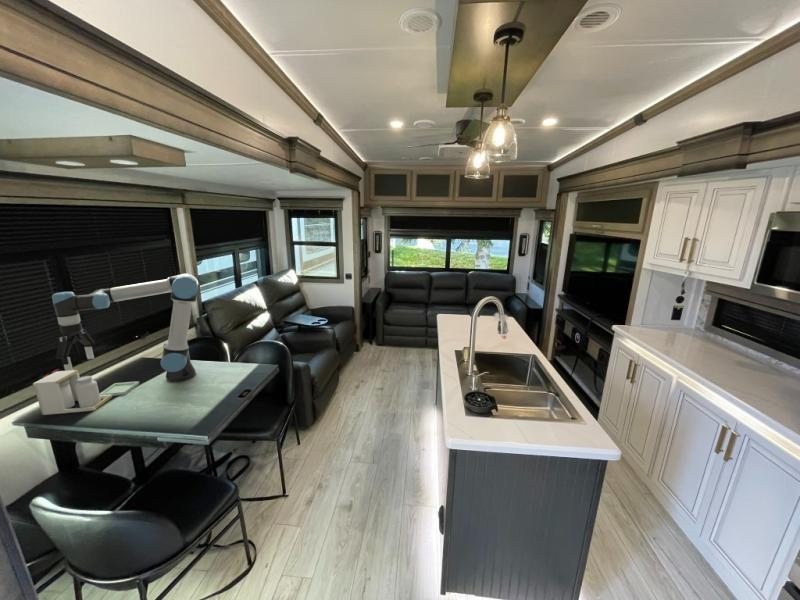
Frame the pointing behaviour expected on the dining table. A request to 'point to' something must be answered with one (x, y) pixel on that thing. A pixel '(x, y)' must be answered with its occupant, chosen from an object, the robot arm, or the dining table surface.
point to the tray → (120, 388)
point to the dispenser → (61, 393)
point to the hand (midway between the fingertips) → (80, 364)
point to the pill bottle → (87, 392)
